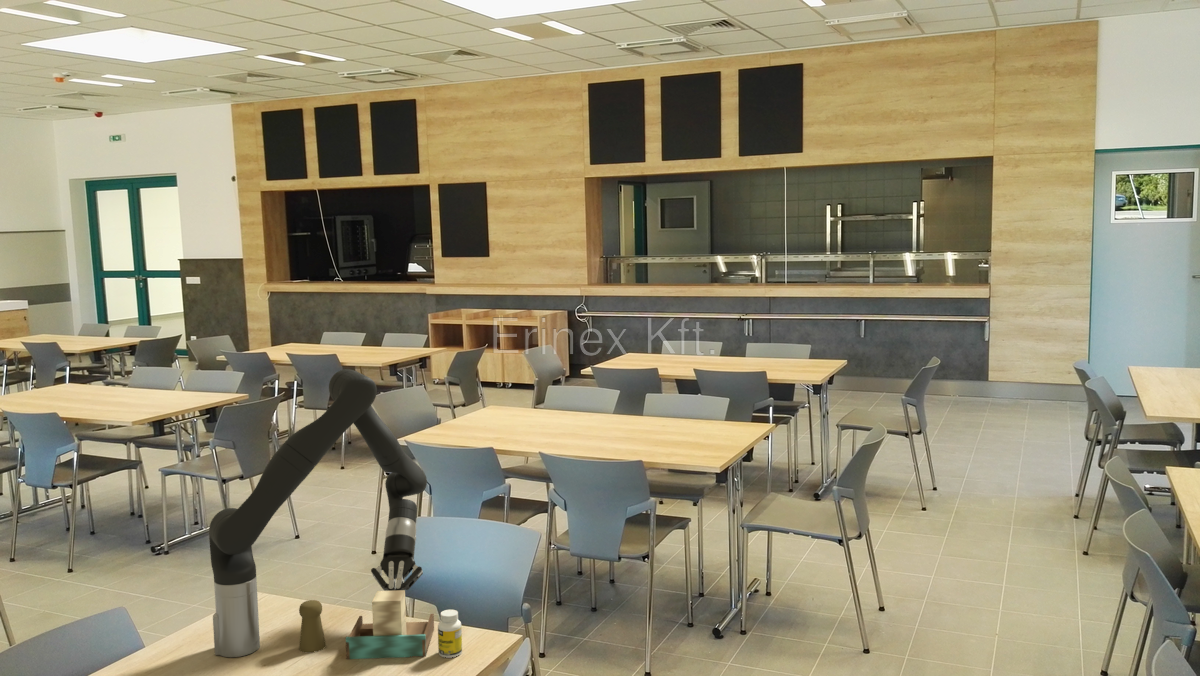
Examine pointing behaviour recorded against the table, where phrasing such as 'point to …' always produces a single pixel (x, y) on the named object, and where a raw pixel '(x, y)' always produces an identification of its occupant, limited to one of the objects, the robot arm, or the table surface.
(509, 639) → the table surface
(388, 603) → the maple block
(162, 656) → the table surface
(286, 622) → the table surface
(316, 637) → the olive pawn
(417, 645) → the trap lane
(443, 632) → the supplement bottle
